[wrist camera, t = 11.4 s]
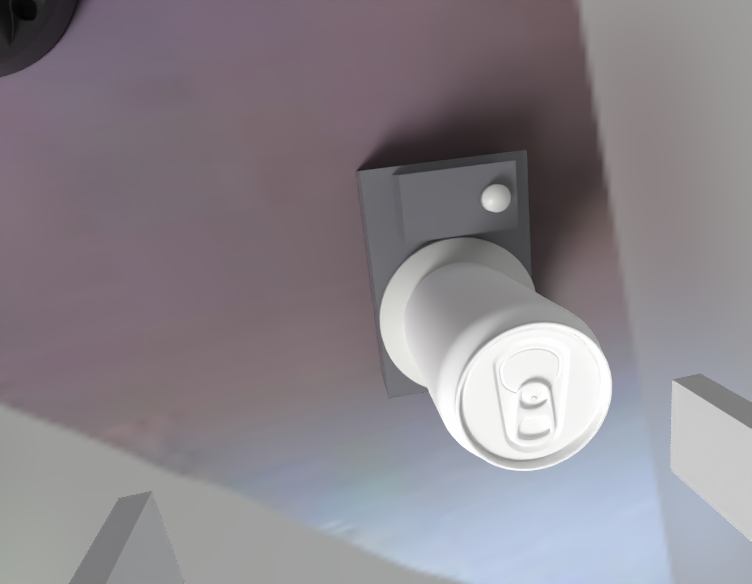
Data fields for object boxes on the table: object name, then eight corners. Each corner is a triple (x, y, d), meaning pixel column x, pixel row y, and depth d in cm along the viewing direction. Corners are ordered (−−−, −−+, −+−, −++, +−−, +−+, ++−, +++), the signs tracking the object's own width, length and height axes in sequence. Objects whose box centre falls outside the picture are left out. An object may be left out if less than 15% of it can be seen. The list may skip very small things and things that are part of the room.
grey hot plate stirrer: (355, 171, 34) (364, 170, 26) (504, 152, 34) (554, 146, 27) (382, 375, 38) (396, 425, 30) (514, 354, 39) (560, 398, 31)
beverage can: (514, 252, 31) (625, 298, 20) (519, 364, 33) (621, 465, 22) (395, 268, 31) (437, 325, 19) (407, 381, 33) (451, 493, 21)
